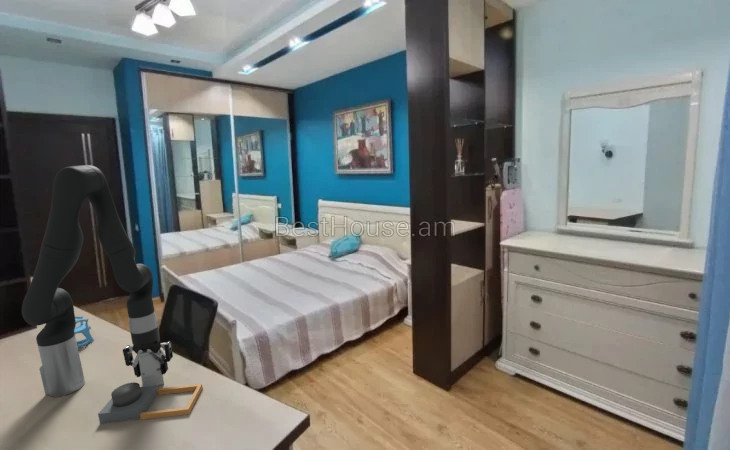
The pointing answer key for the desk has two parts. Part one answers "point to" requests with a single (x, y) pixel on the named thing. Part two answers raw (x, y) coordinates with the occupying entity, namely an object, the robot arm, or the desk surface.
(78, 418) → the desk surface
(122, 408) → the dome slab with frame
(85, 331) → the chair
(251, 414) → the desk surface
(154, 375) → the skincare box
